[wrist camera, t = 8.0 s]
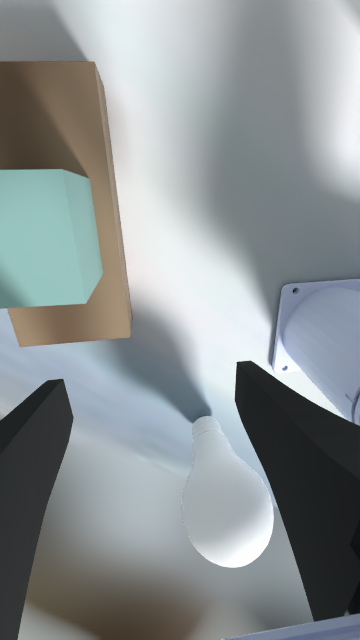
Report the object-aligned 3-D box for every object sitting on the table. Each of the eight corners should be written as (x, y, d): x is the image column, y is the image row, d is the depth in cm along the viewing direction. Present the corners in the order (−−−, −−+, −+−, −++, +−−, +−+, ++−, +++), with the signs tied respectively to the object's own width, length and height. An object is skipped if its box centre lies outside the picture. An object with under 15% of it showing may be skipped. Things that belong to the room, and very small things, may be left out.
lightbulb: (209, 451, 27) (245, 595, 18) (159, 430, 26) (167, 579, 16) (248, 410, 26) (312, 544, 16) (196, 384, 24) (232, 518, 14)
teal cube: (89, 178, 14) (62, 169, 9) (103, 273, 16) (86, 303, 11) (-13, 180, 14) (-94, 171, 9) (14, 278, 16) (-41, 310, 11)
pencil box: (103, 86, 15) (94, 61, 12) (132, 319, 21) (130, 337, 18) (-36, 87, 14) (-79, 61, 12) (34, 327, 20) (16, 347, 17)
